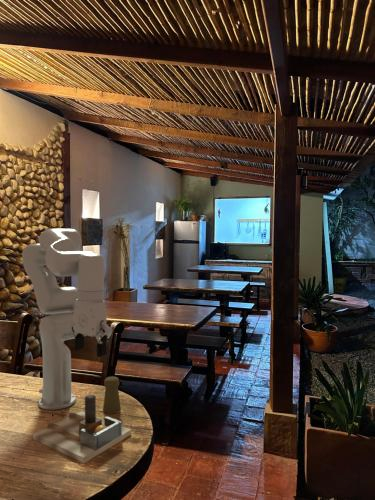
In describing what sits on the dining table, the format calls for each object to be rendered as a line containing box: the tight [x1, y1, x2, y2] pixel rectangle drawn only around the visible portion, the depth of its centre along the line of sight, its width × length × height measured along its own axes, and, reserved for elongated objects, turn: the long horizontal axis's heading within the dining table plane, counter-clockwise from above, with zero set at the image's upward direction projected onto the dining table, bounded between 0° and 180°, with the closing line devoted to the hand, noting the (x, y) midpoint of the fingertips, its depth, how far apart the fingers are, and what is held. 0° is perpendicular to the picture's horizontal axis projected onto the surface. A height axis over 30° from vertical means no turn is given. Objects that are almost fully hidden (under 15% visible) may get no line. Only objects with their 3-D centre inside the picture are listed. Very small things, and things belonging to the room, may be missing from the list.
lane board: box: [32, 410, 132, 464], centre depth 115 cm, size 22×18×3 cm
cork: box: [102, 376, 122, 414], centre depth 134 cm, size 6×6×11 cm
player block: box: [79, 394, 103, 434], centre depth 113 cm, size 4×5×11 cm
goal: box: [80, 416, 122, 451], centre depth 111 cm, size 6×10×4 cm, turn 146°
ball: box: [94, 425, 107, 434], centre depth 111 cm, size 4×4×4 cm
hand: (90, 352), depth 116 cm, fingers open, 9 cm apart
